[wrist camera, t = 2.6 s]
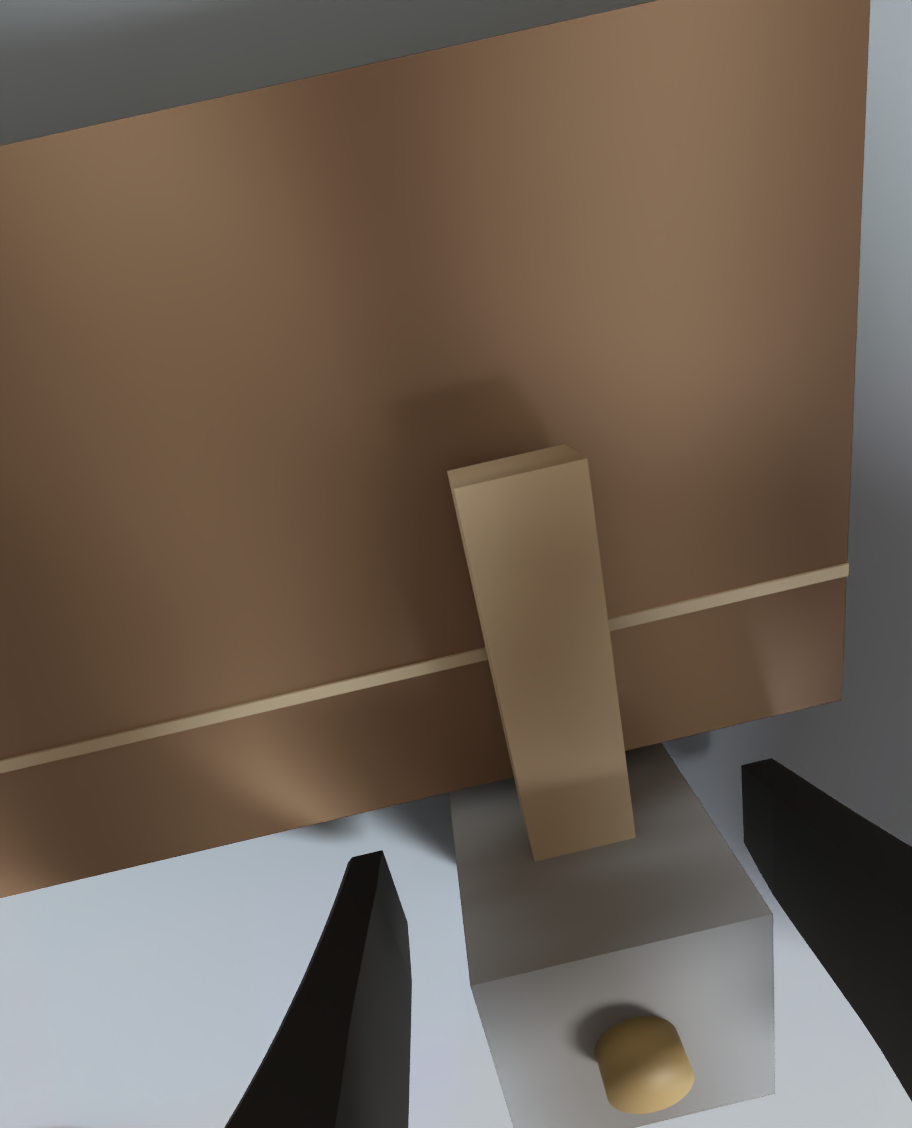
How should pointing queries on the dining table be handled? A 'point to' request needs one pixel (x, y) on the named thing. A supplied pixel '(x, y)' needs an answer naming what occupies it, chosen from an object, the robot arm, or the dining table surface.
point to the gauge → (592, 848)
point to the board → (416, 413)
